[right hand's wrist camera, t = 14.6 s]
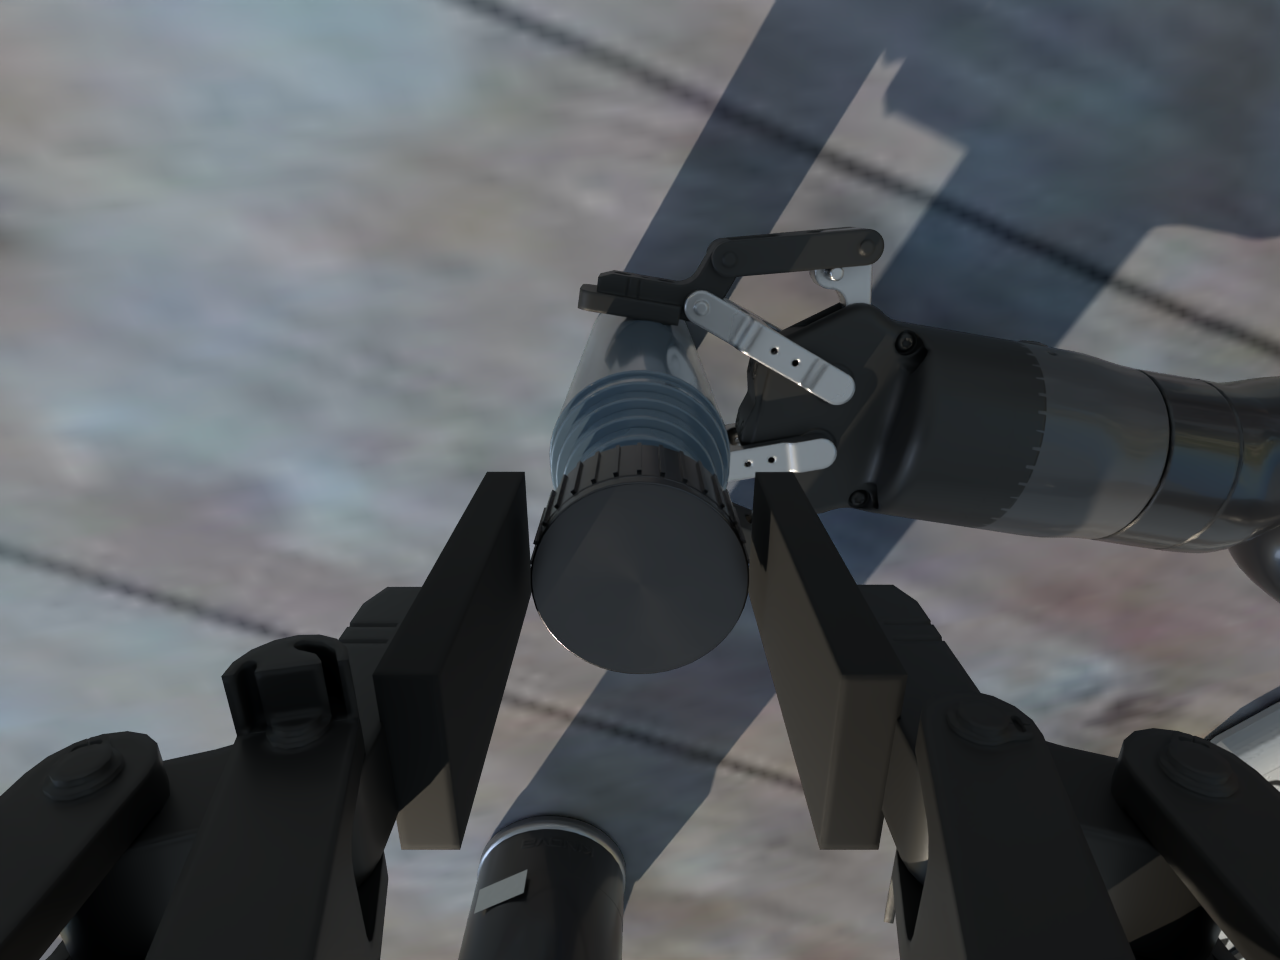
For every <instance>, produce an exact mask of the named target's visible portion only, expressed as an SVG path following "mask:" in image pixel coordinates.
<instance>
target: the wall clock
mask: <svg viewBox="0 0 1280 960" xmlns="http://www.w3.org/2000/svg"><path fill="white" fill-rule="evenodd" d="M1210 742H1211V743H1213V744H1215V745H1217V746H1219V747H1221V748H1223V749H1225V750H1227V751H1229V752H1231V753H1233V754H1235V755H1236V756H1237V757H1239V758H1240V759H1242V760H1243V761H1244V762H1246V763H1247V764H1248V765H1250V766H1251V767H1252V768H1254V769H1255V770H1256V771H1258V772H1259V773H1260V774H1261V775H1262V776H1263V777H1264V778H1265V779H1266V780H1267V781H1269V782H1270V783H1271V784H1272V785H1273V786H1274V787H1275V788H1276V789H1277V790H1278V791H1279V792H1280V702H1278V703H1276V704H1274V705H1272V706H1270V707H1269V708H1267V709H1265V710H1263V711H1261V712H1259V713H1258V714H1256V715H1254V716H1252V717H1250V718H1248V719H1247V720H1245V721H1243V722H1241V723H1239V724H1237V725H1236V726H1234V727H1232V728H1230V729H1228V730H1226V731H1225V732H1223V733H1221V734H1219V735H1217V736H1216V737H1214V738H1213V739H1212V740H1211V741H1210ZM1219 939H1220V940H1221V941H1222V942H1223V944H1224V945H1225V946H1226V947H1227V949H1228V950H1229V951H1230V952H1231V953H1232V954H1233V955H1234V956H1235V957H1236V958H1237V959H1238V960H1245V959H1244V958H1243V956H1242V955H1241V954H1240V953H1239V951H1238V950H1237V949H1236V948H1235V946H1234V945H1233V944H1232V943H1231V941H1230V940H1229V939H1228V938H1227V936H1226V935H1225V934H1224V933H1223V931H1222V930H1221V932H1220V935H1219Z"/></svg>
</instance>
